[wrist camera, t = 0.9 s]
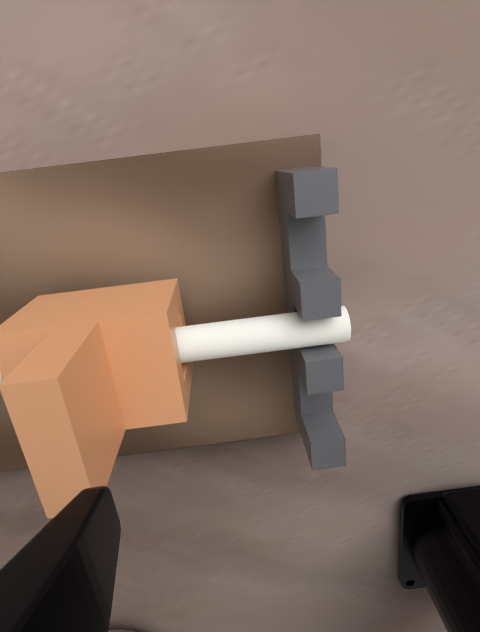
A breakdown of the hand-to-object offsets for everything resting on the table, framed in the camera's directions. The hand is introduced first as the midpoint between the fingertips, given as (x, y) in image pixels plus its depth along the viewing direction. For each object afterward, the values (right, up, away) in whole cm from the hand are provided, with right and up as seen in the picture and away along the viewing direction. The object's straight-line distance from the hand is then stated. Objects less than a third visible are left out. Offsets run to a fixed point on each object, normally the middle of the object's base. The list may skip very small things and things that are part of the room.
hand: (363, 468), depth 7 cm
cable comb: (0, +3, +9) cm, 9 cm away
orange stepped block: (-7, +2, +8) cm, 11 cm away
